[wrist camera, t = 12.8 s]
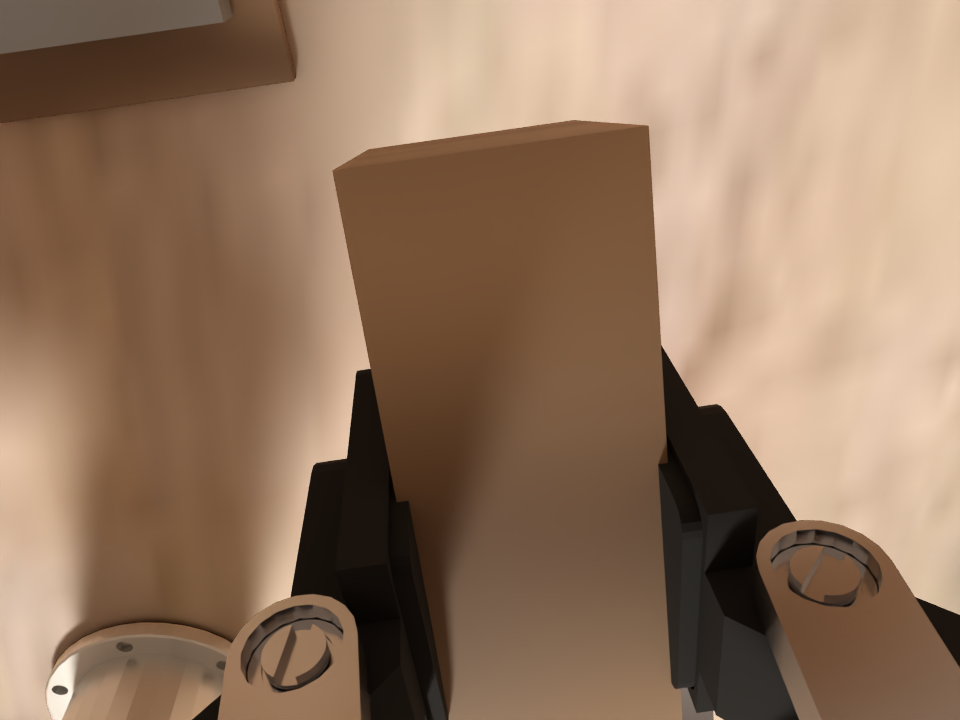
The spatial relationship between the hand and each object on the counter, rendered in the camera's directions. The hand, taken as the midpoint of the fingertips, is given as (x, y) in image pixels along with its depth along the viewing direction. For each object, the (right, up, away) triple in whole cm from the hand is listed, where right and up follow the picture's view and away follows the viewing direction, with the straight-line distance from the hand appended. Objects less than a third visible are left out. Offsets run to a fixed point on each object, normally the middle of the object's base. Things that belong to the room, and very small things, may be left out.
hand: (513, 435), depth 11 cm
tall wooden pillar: (0, -2, +2) cm, 3 cm away
